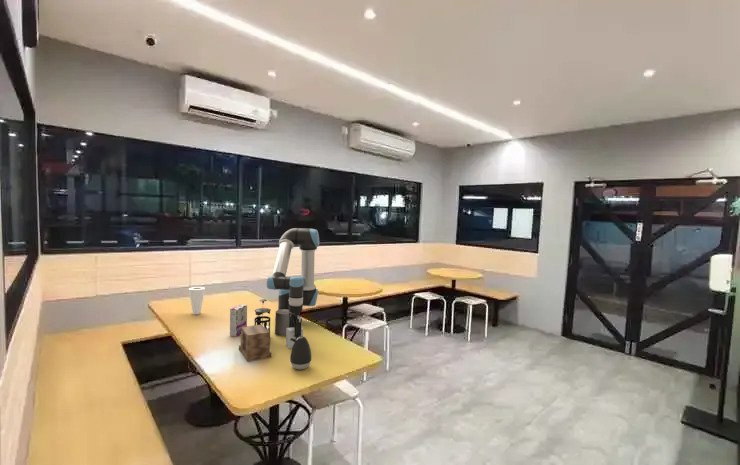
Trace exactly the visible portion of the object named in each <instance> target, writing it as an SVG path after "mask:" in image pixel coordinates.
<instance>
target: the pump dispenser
mask: <svg viewBox="0 0 740 465" xmlns="http://www.w3.org/2000/svg"><path fill="white" fill-rule="evenodd" d="M290 340H291V341H293V342H295V343H294V345H293V347H292V348H291V352H290V356H289V360H290V364H291V366H292V367H293V369H296V370H299V371H301V370H305V369H307V368H308V367H309V366H310V365H311V362H312V351H311V346H310V344H309V341H308V339H307V337H306V336H304V335H303V336H300V337H298V338H297V339H293V338H291V339H290Z"/></svg>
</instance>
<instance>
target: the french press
mask: <svg viewBox="0 0 740 465" xmlns="http://www.w3.org/2000/svg"><path fill="white" fill-rule="evenodd" d="M267 301H268V300H267V299H265V298H264V299H260V300H259V302H261V303H262V304H264V303H265V302H267ZM271 311H272V309H270V308H267V307H261V308H256V309H255V310H254V312H255V315H256V317H254V323H253V324H254V325H263V326H264V327H265V328H266V329H267V330H268V331H269V332H270V333H271V317H270V316H267V315H264V314H265V313H267V314H269V315H270V313H271ZM264 319H265V320H264ZM254 325H253V326H254Z"/></svg>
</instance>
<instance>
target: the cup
mask: <svg viewBox="0 0 740 465" xmlns="http://www.w3.org/2000/svg"><path fill="white" fill-rule="evenodd" d="M205 291H206V286H205V287H204V286H192V287H189V288H188V293H189V298H190V306H191V310H192V315H199V314H201V313H202V307H203V303H204V296H205Z"/></svg>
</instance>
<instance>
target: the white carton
mask: <svg viewBox="0 0 740 465" xmlns="http://www.w3.org/2000/svg"><path fill="white" fill-rule="evenodd" d="M294 335H295V328H294V327H291V328H286V335H285V346H286V347H287V348H288V349H289V350H292V347H293V345H294V342H293V341H291V340H290V339H291V338H293V339H294ZM301 336H303V337H304V328H303V327H302V326H301ZM299 337H300V336H299Z"/></svg>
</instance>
